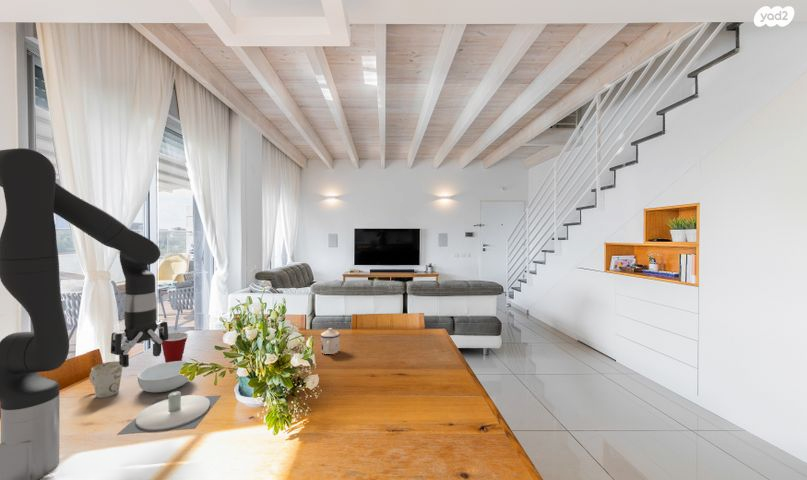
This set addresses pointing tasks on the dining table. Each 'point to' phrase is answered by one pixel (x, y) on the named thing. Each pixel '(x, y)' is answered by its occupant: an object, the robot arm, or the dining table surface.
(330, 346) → the teacup with lid
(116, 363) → the mug
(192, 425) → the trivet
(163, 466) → the dining table surface
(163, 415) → the lid
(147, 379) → the cereal bowl
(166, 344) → the plastic cup
